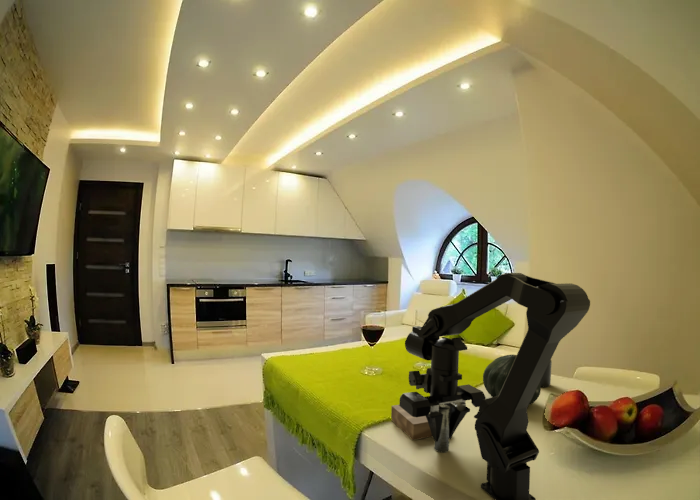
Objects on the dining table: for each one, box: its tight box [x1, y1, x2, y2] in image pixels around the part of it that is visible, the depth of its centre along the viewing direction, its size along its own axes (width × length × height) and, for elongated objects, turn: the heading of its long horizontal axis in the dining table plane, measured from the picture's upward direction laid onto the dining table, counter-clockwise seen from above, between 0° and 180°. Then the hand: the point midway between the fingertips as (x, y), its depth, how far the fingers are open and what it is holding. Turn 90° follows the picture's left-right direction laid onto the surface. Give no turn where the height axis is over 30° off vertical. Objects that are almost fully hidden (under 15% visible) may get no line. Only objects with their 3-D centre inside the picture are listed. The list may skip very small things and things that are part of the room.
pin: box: [433, 404, 450, 453], centre depth 76 cm, size 3×3×9 cm
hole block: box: [390, 404, 432, 441], centre depth 86 cm, size 10×10×4 cm
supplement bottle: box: [540, 359, 552, 388], centre depth 118 cm, size 7×7×12 cm
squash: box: [482, 354, 542, 406], centre depth 102 cm, size 14×15×15 cm
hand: (441, 439), depth 76 cm, fingers closed on pin, 3 cm apart
